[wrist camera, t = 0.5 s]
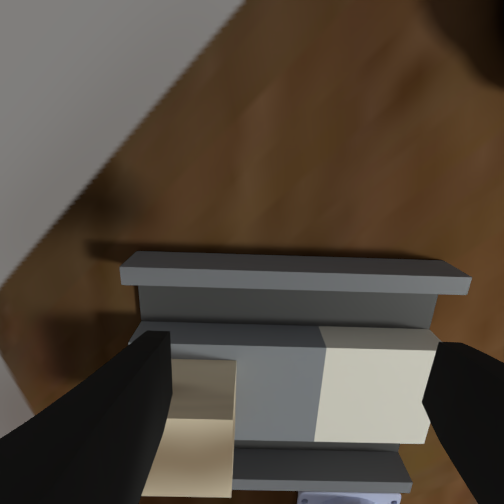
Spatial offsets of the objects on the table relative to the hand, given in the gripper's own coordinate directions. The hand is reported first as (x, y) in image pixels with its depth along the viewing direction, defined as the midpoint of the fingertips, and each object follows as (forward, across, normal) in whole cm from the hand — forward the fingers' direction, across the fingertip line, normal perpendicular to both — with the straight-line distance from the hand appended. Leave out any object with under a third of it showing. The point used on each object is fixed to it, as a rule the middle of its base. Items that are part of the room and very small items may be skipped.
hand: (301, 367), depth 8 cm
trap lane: (+10, -1, +8) cm, 13 cm away
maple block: (+8, +4, +8) cm, 12 cm away
